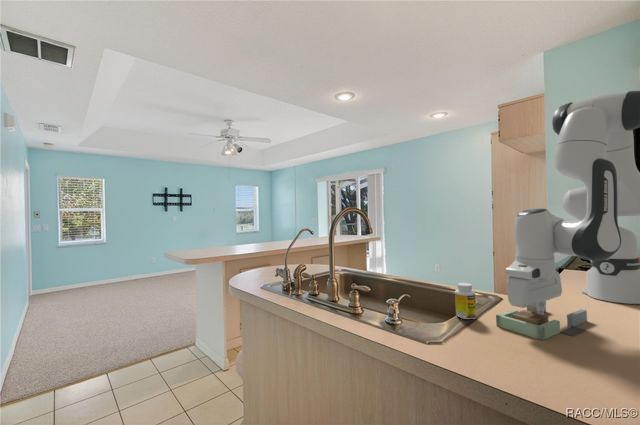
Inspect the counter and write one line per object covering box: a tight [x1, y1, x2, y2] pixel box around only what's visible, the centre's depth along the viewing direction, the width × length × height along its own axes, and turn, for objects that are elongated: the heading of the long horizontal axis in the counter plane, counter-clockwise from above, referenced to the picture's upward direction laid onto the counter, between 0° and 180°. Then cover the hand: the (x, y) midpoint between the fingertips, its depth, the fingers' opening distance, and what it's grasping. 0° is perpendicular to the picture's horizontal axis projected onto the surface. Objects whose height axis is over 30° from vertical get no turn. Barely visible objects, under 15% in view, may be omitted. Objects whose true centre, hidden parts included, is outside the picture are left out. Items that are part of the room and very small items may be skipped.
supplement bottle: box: [454, 282, 477, 320], centre depth 90 cm, size 6×6×10 cm
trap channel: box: [495, 306, 588, 341], centre depth 83 cm, size 23×17×3 cm
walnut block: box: [512, 309, 549, 325], centre depth 80 cm, size 6×6×4 cm
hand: (537, 317), depth 82 cm, fingers closed
